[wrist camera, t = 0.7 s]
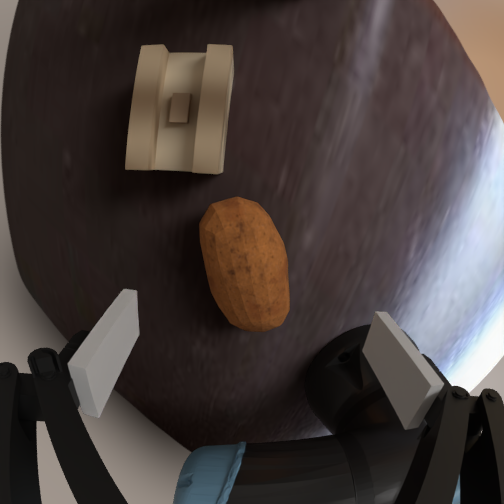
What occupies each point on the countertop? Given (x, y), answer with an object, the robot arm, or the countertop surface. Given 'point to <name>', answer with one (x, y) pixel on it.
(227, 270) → the potato
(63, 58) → the countertop surface
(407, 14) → the countertop surface
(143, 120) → the cradle
